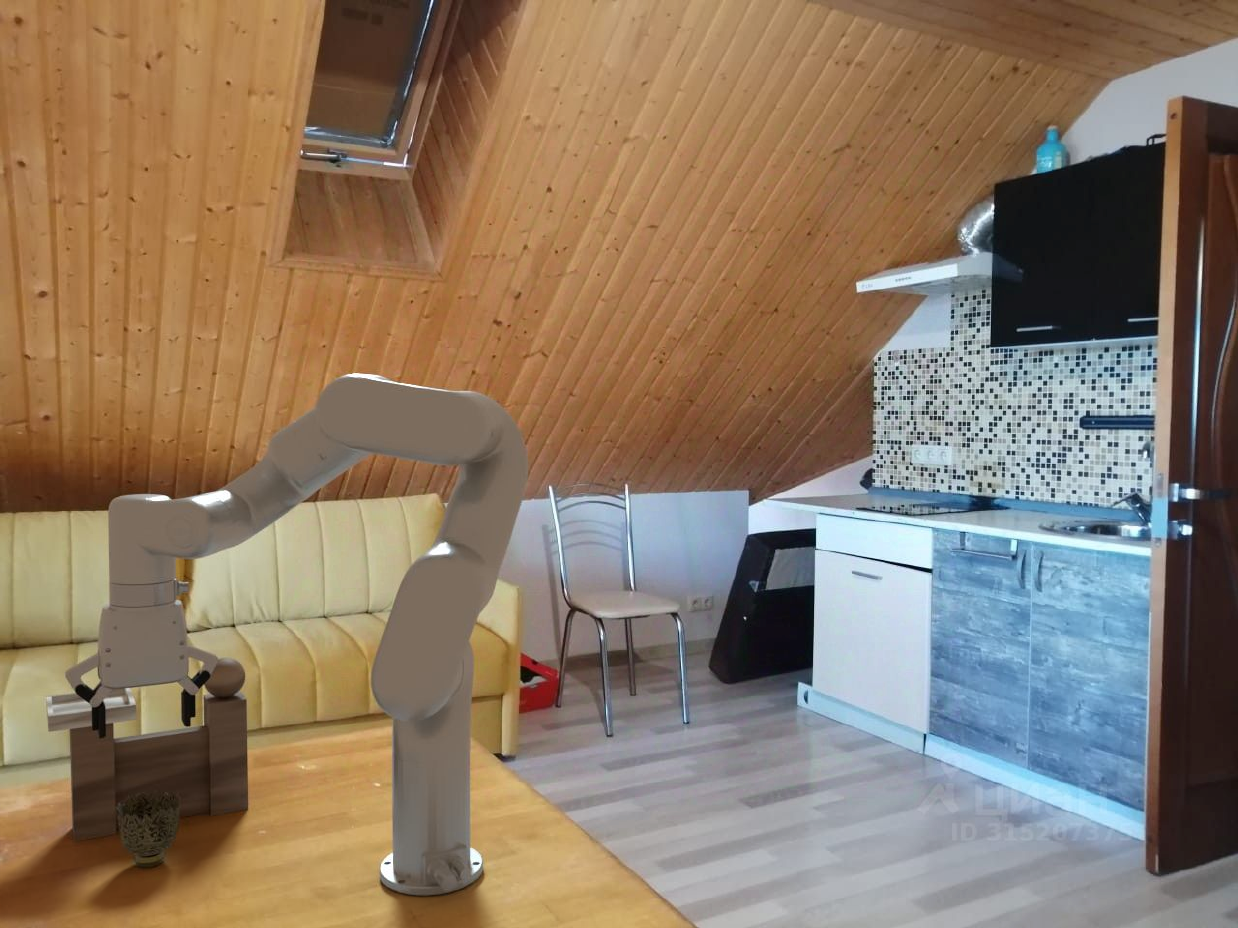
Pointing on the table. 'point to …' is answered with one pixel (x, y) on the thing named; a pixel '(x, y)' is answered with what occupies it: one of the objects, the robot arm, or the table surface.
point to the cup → (148, 826)
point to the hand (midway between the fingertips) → (144, 729)
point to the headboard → (156, 755)
